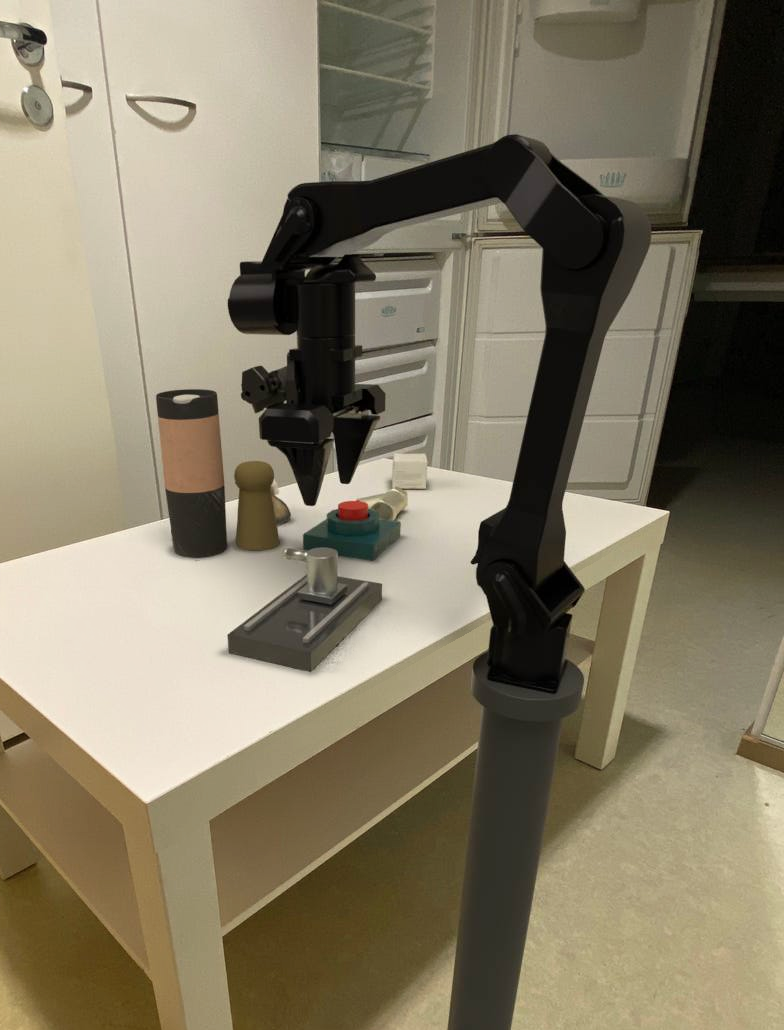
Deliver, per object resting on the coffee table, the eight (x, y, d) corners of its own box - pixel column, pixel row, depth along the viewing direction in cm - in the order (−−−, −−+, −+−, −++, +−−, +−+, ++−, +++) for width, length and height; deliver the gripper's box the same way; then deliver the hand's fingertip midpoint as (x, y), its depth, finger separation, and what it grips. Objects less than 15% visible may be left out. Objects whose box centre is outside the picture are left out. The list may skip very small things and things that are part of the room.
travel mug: (205, 535, 103) (192, 387, 94) (240, 547, 98) (230, 392, 89) (160, 549, 98) (142, 394, 89) (194, 562, 93) (179, 400, 84)
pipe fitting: (349, 526, 106) (393, 527, 104) (347, 499, 105) (392, 500, 102) (365, 510, 113) (408, 511, 110) (364, 485, 111) (407, 485, 109)
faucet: (347, 591, 78) (347, 549, 76) (331, 605, 75) (331, 561, 73) (293, 581, 81) (292, 540, 79) (275, 594, 78) (274, 552, 76)
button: (372, 515, 98) (372, 502, 97) (361, 523, 94) (361, 510, 94) (345, 511, 99) (345, 499, 98) (333, 520, 96) (333, 507, 95)
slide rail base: (382, 599, 81) (382, 579, 80) (311, 671, 67) (310, 648, 66) (310, 587, 85) (309, 567, 84) (228, 652, 71) (226, 629, 70)
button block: (400, 537, 100) (401, 509, 99) (373, 560, 92) (373, 530, 91) (334, 528, 104) (334, 500, 103) (303, 549, 97) (302, 520, 95)
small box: (424, 480, 126) (426, 452, 124) (426, 489, 121) (428, 460, 119) (391, 480, 127) (392, 452, 125) (392, 489, 122) (393, 460, 120)
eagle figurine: (224, 506, 111) (245, 510, 103) (242, 463, 111) (265, 464, 103) (265, 526, 115) (289, 532, 107) (283, 485, 115) (308, 487, 107)
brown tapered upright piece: (263, 553, 96) (259, 470, 91) (226, 545, 99) (220, 464, 94) (288, 540, 100) (285, 460, 95) (252, 533, 103) (248, 455, 98)
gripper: (294, 329, 81) (299, 468, 88) (203, 344, 66) (218, 510, 73) (388, 329, 77) (385, 475, 84) (314, 345, 62) (318, 522, 69)
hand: (328, 494), depth 78 cm, fingers open, 9 cm apart
